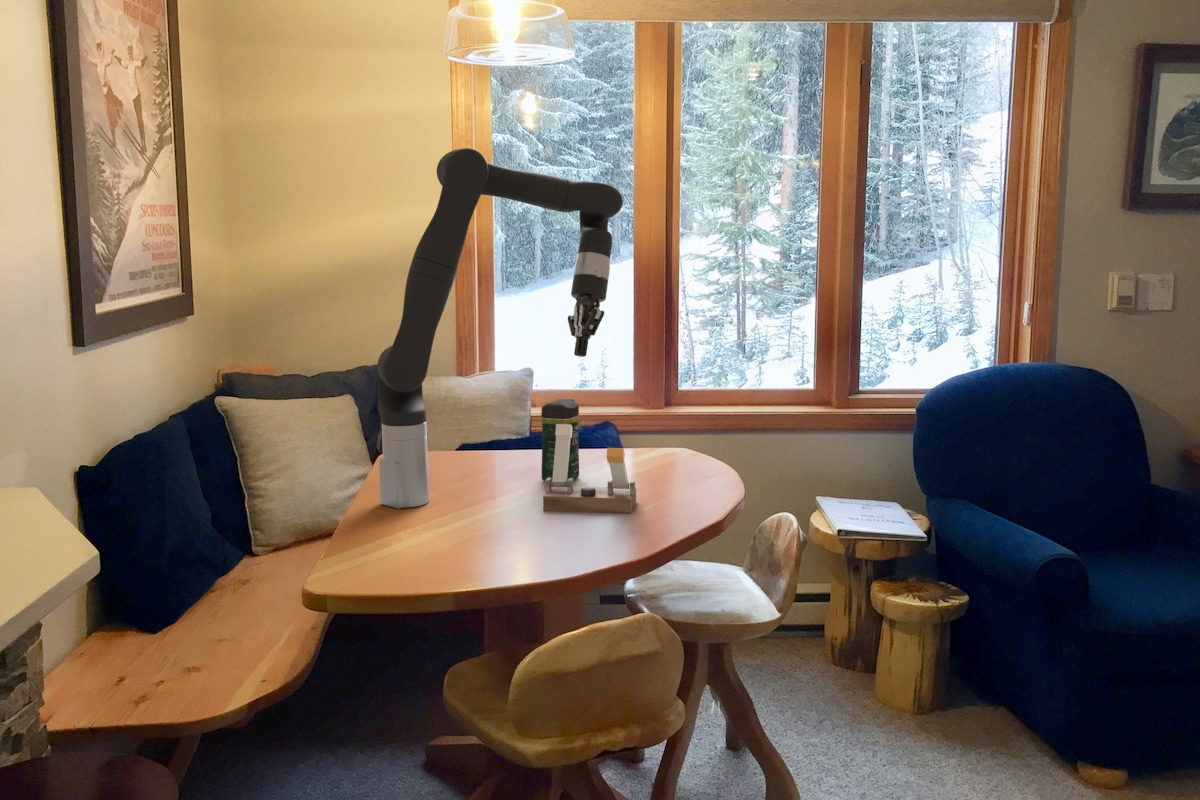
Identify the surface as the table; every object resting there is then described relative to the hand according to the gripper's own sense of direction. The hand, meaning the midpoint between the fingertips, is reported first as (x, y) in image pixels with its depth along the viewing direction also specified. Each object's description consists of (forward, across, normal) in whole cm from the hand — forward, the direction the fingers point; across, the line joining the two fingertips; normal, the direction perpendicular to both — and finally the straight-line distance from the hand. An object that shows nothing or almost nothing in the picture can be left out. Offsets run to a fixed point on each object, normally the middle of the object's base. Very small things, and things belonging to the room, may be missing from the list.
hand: (580, 355), depth 223 cm
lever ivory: (+28, +1, -1) cm, 28 cm away
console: (+31, +4, +5) cm, 32 cm away
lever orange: (+26, +9, +9) cm, 29 cm away
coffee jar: (+26, -20, +9) cm, 33 cm away
